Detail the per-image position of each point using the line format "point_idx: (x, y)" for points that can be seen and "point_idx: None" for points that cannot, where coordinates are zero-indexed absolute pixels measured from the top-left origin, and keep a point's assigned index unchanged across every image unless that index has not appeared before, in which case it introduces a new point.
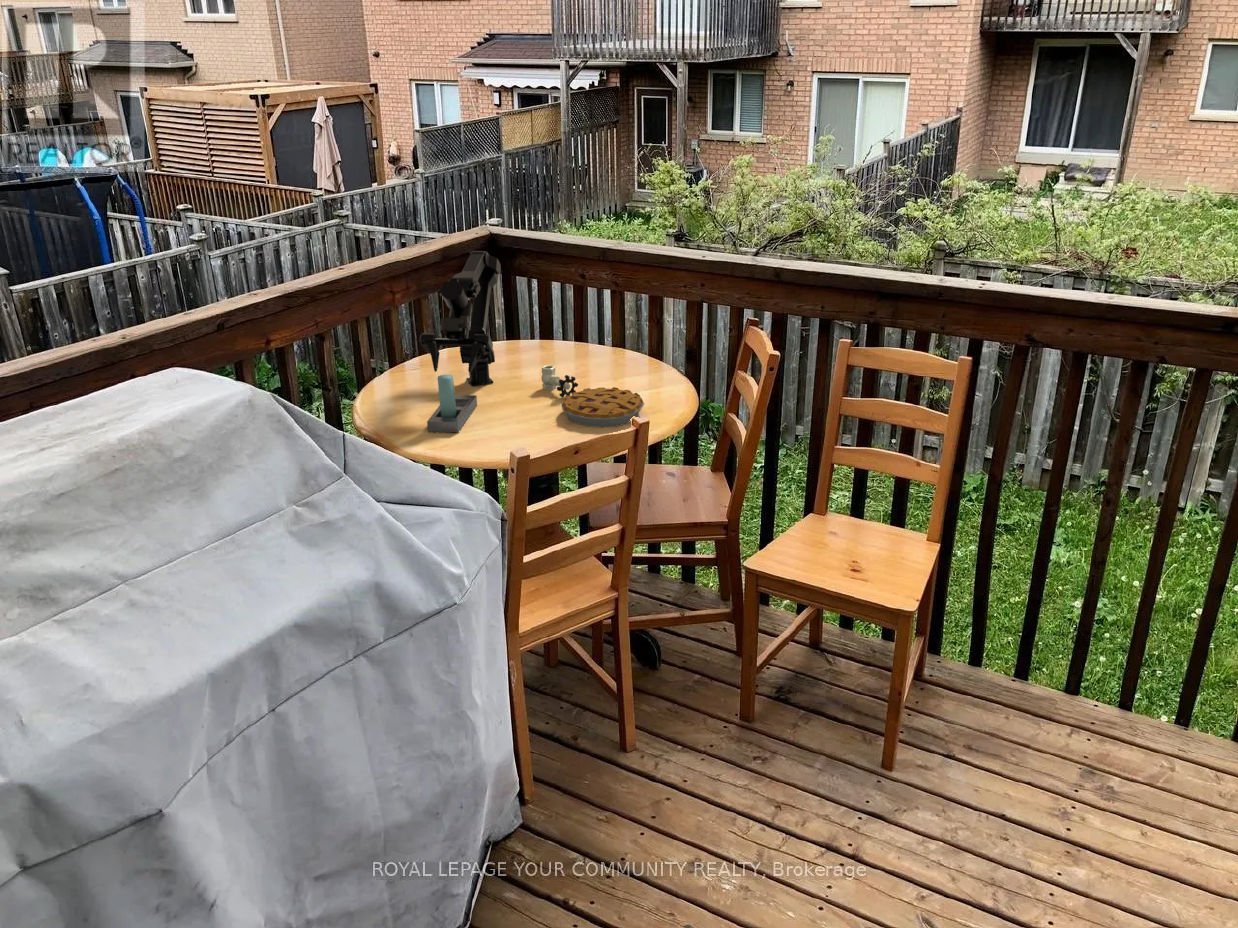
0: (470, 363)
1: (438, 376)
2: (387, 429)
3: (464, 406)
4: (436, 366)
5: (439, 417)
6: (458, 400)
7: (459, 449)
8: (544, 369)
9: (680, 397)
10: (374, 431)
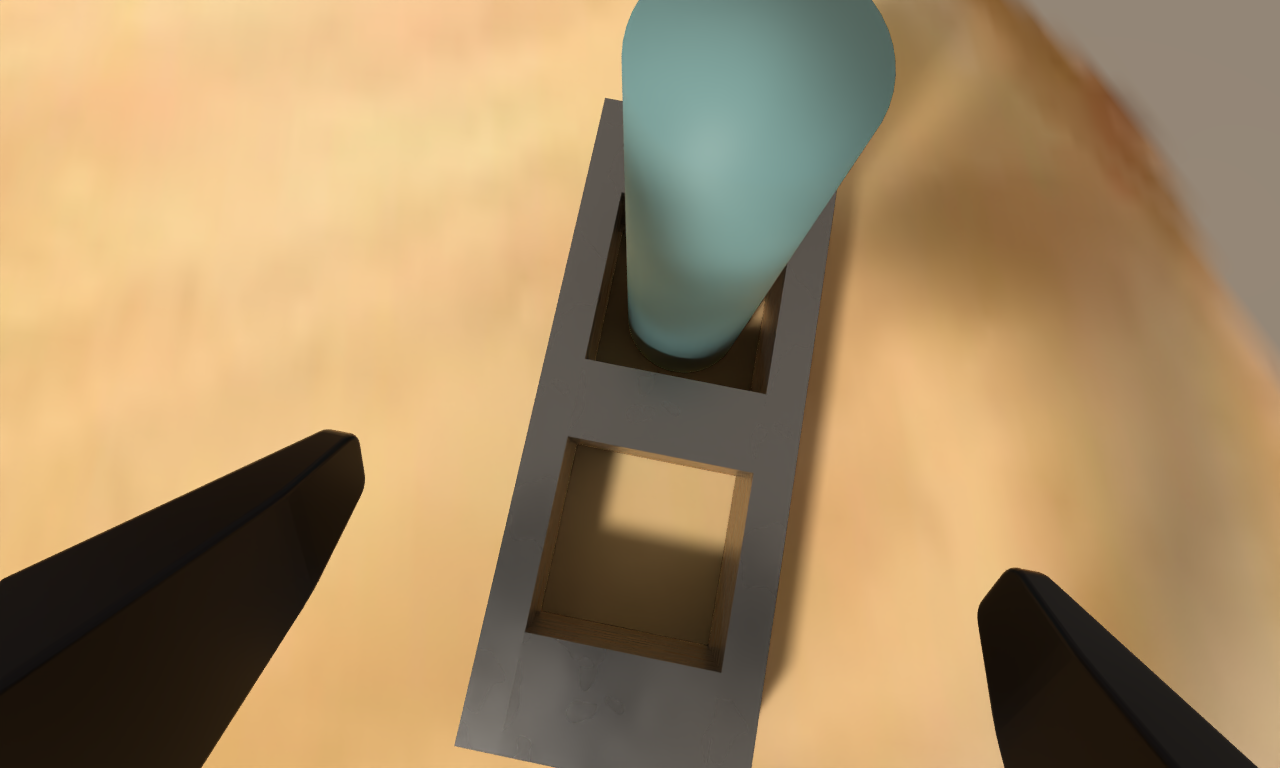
0: (211, 516)
1: (885, 103)
2: (1108, 274)
3: (564, 440)
4: (1036, 670)
5: None
6: (630, 649)
7: None
8: None
9: None
10: (1188, 248)
